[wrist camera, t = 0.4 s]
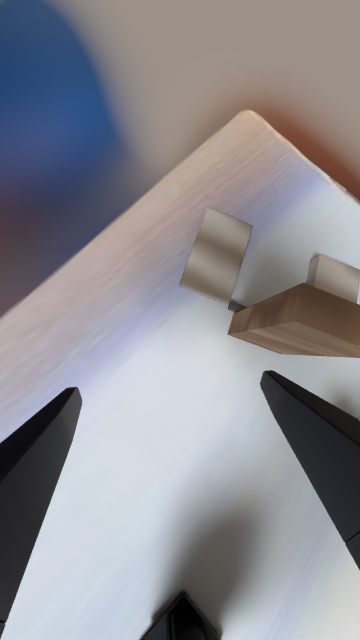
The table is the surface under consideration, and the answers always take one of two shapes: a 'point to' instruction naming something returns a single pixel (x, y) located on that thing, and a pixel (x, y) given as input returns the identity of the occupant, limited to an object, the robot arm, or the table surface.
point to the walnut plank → (301, 323)
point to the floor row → (226, 257)
